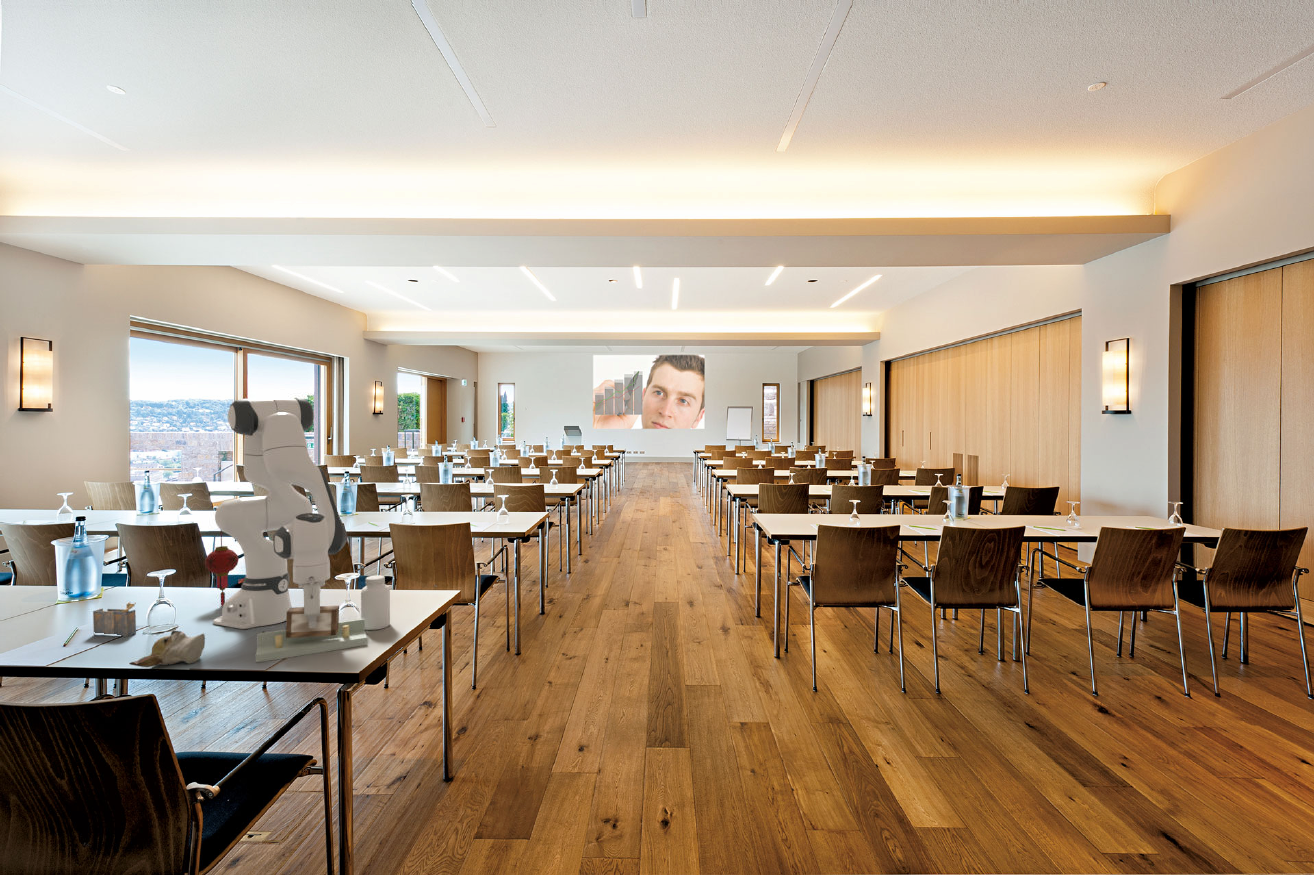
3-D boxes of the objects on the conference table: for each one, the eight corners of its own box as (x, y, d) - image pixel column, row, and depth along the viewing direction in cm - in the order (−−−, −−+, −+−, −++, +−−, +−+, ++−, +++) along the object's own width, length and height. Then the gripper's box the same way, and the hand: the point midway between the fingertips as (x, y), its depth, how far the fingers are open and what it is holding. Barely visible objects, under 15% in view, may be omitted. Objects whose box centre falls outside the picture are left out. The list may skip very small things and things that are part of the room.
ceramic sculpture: (191, 634, 158) (125, 641, 156) (194, 668, 159) (128, 676, 156) (214, 621, 169) (152, 628, 167) (217, 653, 169) (155, 660, 167)
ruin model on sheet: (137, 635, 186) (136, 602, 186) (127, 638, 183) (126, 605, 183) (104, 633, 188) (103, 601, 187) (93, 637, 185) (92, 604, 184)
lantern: (198, 608, 211) (196, 519, 210) (223, 600, 220) (221, 515, 219) (222, 610, 209) (219, 520, 208) (246, 602, 218) (244, 515, 217)
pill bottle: (379, 631, 186) (378, 581, 186) (355, 629, 188) (354, 579, 187) (395, 623, 194) (394, 574, 193) (372, 621, 195) (371, 573, 195)
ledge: (255, 662, 162) (255, 642, 162) (258, 652, 169) (257, 633, 169) (366, 644, 175) (366, 626, 175) (364, 636, 182) (364, 618, 182)
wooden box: (285, 637, 168) (286, 611, 168) (289, 633, 172) (290, 607, 172) (335, 635, 172) (336, 609, 171) (338, 630, 175) (339, 605, 175)
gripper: (325, 580, 164) (326, 633, 164) (324, 565, 182) (325, 613, 182) (297, 583, 161) (298, 637, 161) (298, 568, 179) (300, 616, 179)
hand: (312, 624), depth 172 cm, fingers closed on wooden box, 4 cm apart
